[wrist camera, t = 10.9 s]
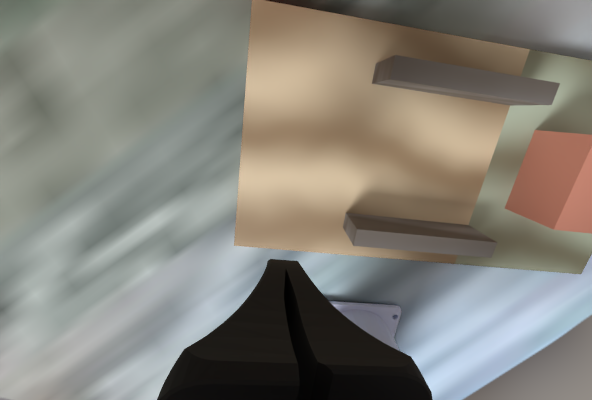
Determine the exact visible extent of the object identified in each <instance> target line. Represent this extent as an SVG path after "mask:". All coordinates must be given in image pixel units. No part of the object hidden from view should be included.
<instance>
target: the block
mask: <svg viewBox="0 0 592 400" xmlns="http://www.w3.org/2000/svg"><path fill="white" fill-rule="evenodd" d="M505 209H507V210H509V211H512V212H514V213H516V214H519V215H521V216H523V217H525V218H528V219H530V220H532V221H535V222H537V223H539V224H542V225H544V226H546V227H549V228H551V229H553V230H561V231H571V232H581V233H591V234H592V135H589V134H577V133H565V132H553V131H541V130H535V131H534V133H533V136H532V139H531V141H530V144H529V146H528V149H527V152H526V154H525V157H524V159H523V162H522V165H521V167H520V170H519V172H518V175H517V177H516V180H515V183H514V185H513V188H512V190H511V193H510V196H509V198H508V201H507V203H506V206H505Z"/></svg>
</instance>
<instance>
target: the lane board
mask: <svg viewBox="0 0 592 400" xmlns="http://www.w3.org/2000/svg"><path fill="white" fill-rule="evenodd" d="M535 130H541V131H553V132H565V133H577V134H589V135H592V61H591V60H585V59H580V58H574V57H569V56H564V55H558V54H553V53H547V52H542V51H537V50H531V49H526V48H520V47H515V46H509V45H504V44H499V43H493V42H488V41H482V40H477V39H472V38H466V37H461V36H455V35H450V34H444V33H439V32H434V31H428V30H423V29H417V28H412V27H407V26H401V25H396V24H390V23H385V22H380V21H374V20H369V19H363V18H358V17H352V16H347V15H342V14H336V13H331V12H325V11H320V10H315V9H309V8H304V7H298V6H293V5H288V4H282V3H277V2H271V1H266V0H252V8H251V22H250V35H249V49H248V63H247V76H246V90H245V104H244V118H243V131H242V145H241V159H240V172H239V186H238V200H237V214H236V227H235V241H234V246H246V247H258V248H270V249H282V250H294V251H306V252H318V253H331V254H343V255H355V256H367V257H379V258H391V259H403V260H415V261H427V262H439V263H451V264H463V265H475V266H488V267H500V268H512V269H524V270H536V271H548V272H560V273H572V274H581V273H582V271H583V269H584V268H585V266H586V264H587V262H588V260H589V258H590V256H591V254H592V234H591V233H581V232H571V231H561V230H553V229H551V228H549V227H546V226H544V225H542V224H539V223H537V222H535V221H532V220H530V219H528V218H525V217H523V216H521V215H519V214H516V213H514V212H512V211H509V210H507V209H505V206H506V203H507V201H508V198H509V196H510V193H511V190H512V188H513V185H514V183H515V180H516V177H517V175H518V172H519V170H520V167H521V165H522V162H523V159H524V157H525V154H526V152H527V149H528V146H529V144H530V141H531V139H532V136H533V133H534V131H535Z"/></svg>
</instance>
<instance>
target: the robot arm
mask: <svg viewBox="0 0 592 400" xmlns="http://www.w3.org/2000/svg"><path fill="white" fill-rule="evenodd" d="M401 313H402V310H401V308H400V307H399V306H397V305H385V304H369V303H353V302H337V301H328V300H327V299H326V298H325V297H324V295H323V294H322V293H321V292H320V291H319V290H318V288H317V287H316V286H315V285H314V283H313V282H312V281H311V279H310V278H309V277H308V275H307V274H306V273H305V271H304V270H303V268H302V267H301V265H300V264H299V262H298V261H288V260H275V259H270V260H269V261H268V263H267V267H266V269H265V272H264V274H263V276H262V277H261V279H260V281H259V283H258V284H257V286H256V287H255V289H254V290H253V291H252V293H251V294H250V296H249V297H248V298H247V299H246V301H245V302H244V303H243V304H242V305H241V306H240V307H239V309H238V310H237V311H236V312H235V313H234V314H232V315H231V316H230V317H229V318H228V319H227V320H226V321H225V322H224V323H223V324H221V325H220V326H219V327H217V328H216V329H215V330H214V331H212V332H211V333H210V334H208V335H207V336H206V337H204V338H202V339H201V340H199V341H197V342H196V343H194V344H192V345H191V346H189V347H187V348H186V349H184V351H183V352H182V353H181V355H180V357H179V358H178V360H177V361H176V363H175V364H174V366H173V368H172V369H171V371H170V373H169V375H168V377H167V379H166V380H165V382H164V384H163V387H162V389H161V391H160V394H159V396H158V399H157V400H432V394H431V391H430V389H429V387H428V385H427V384H426V382H425V380H424V378H423V376H422V374H421V372H420V370H419V369H418V367H417V366H416V364H415V362H414V361H413V359H412V358H411V357H410V356H408V355H406V354H404V353H402V352H401V351H400V350H399V348H398V346H397V344H396V342H395V340H394V336H395V332H396V329H397V326H398V323H399V319H400V316H401ZM393 315H395V316H393Z"/></svg>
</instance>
